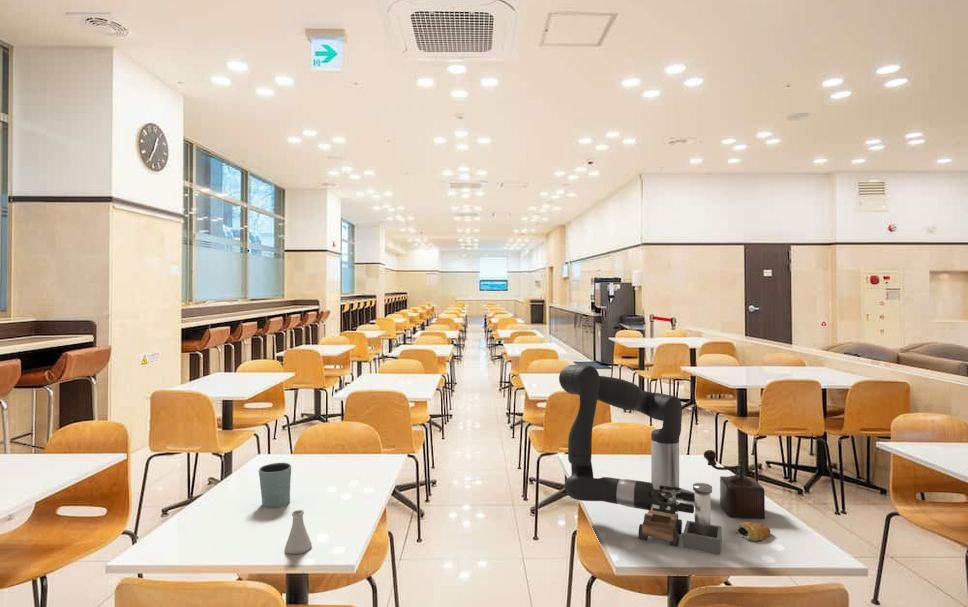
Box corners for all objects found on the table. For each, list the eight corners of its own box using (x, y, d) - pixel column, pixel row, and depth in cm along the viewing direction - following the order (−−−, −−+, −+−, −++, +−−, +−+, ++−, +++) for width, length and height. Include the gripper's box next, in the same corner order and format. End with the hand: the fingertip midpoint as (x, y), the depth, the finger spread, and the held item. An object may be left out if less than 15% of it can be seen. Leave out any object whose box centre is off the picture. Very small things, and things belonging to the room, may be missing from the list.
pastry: (756, 528, 154) (757, 515, 154) (777, 538, 148) (777, 524, 148) (732, 533, 151) (732, 520, 151) (752, 544, 145) (752, 530, 145)
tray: (687, 534, 150) (686, 520, 150) (721, 540, 146) (721, 526, 146) (683, 548, 142) (683, 533, 142) (720, 555, 138) (720, 539, 138)
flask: (315, 542, 147) (315, 506, 147) (307, 554, 140) (307, 517, 140) (289, 542, 147) (288, 507, 147) (280, 555, 140) (279, 517, 140)
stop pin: (694, 535, 147) (693, 481, 147) (712, 538, 145) (712, 484, 145) (692, 542, 143) (692, 487, 143) (711, 546, 141) (711, 490, 141)
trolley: (645, 521, 159) (645, 505, 159) (682, 528, 154) (682, 511, 154) (636, 541, 146) (636, 523, 146) (676, 549, 142) (676, 530, 141)
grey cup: (280, 510, 169) (280, 473, 169) (252, 508, 171) (251, 471, 171) (297, 498, 179) (297, 463, 179) (271, 496, 181) (270, 461, 181)
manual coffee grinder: (752, 505, 171) (752, 449, 170) (765, 519, 160) (765, 460, 160) (702, 503, 173) (701, 448, 173) (711, 517, 162) (711, 458, 162)
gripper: (629, 489, 146) (693, 498, 138) (639, 473, 158) (697, 481, 151) (630, 516, 146) (693, 527, 139) (639, 498, 159) (697, 507, 151)
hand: (695, 503), depth 145 cm, fingers open, 8 cm apart
